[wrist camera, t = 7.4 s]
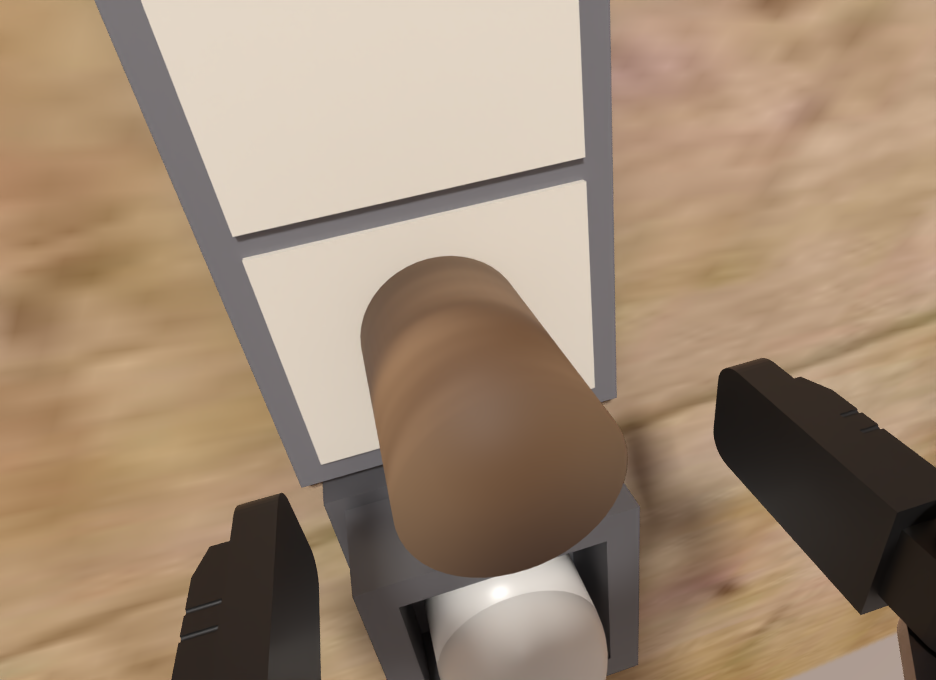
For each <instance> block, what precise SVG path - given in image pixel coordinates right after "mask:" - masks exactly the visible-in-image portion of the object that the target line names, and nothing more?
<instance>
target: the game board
mask: <svg viewBox="0 0 936 680" xmlns="http://www.w3.org/2000/svg"><path fill="white" fill-rule="evenodd" d="M95 3H96V5H97V7H98V10H99V12H100V14H101V17H102V19H103V21H104V24H105V26H106V28H107V31H108V33H109V36H110V38H111V40H112V43H113V45H114V47H115V50H116V52H117V54H118V57H119V59H120V61H121V64H122V66H123V68H124V71H125V73H126V76H127V78H128V80H129V83H130V85H131V87H132V90H133V92H134V94H135V97H136V99H137V101H138V104H139V106H140V108H141V111H142V113H143V116H144V118H145V120H146V123H147V125H148V127H149V130H150V132H151V134H152V137H153V139H154V141H155V144H156V146H157V148H158V151H159V153H160V156H161V158H162V160H163V163H164V165H165V167H166V170H167V172H168V174H169V177H170V179H171V181H172V184H173V186H174V189H175V191H176V193H177V196H178V198H179V200H180V203H181V205H182V207H183V210H184V212H185V214H186V217H187V219H188V221H189V224H190V226H191V229H192V231H193V233H194V236H195V238H196V240H197V243H198V245H199V247H200V250H201V252H202V254H203V257H204V259H205V261H206V264H207V266H208V269H209V271H210V273H211V276H212V278H213V280H214V283H215V285H216V287H217V290H218V292H219V294H220V297H221V299H222V301H223V304H224V306H225V309H226V311H227V313H228V316H229V318H230V320H231V323H232V325H233V327H234V330H235V332H236V334H237V337H238V339H239V341H240V344H241V346H242V349H243V351H244V353H245V356H246V358H247V360H248V363H249V365H250V367H251V370H252V372H253V374H254V377H255V379H256V381H257V384H258V386H259V389H260V391H261V393H262V396H263V398H264V400H265V403H266V405H267V407H268V410H269V412H270V414H271V417H272V419H273V421H274V424H275V426H276V429H277V431H278V433H279V436H280V438H281V440H282V443H283V445H284V447H285V450H286V452H287V454H288V457H289V459H290V461H291V464H292V466H293V469H294V471H295V473H296V476H297V478H298V480H299V483H300V485H301V487H306V486H309V485H313V484H316V483H320V482H323V481H327V480H330V479H334V478H337V477H341V476H344V475H348V474H351V473H355V472H358V471H362V470H365V469H369V468H372V467H376V466H379V465H383V462H382V457H381V452H380V446H379V441H378V435H377V430H376V425H375V419H374V414H373V409H372V403H371V398H370V393H369V387H368V382H367V376H366V371H365V366H364V360H363V355H362V350H361V341H360V333H361V325H362V321H363V317H364V314H365V311H366V309H367V307H368V305H369V303H370V301H371V299H372V298H373V296H374V295H375V294H376V292H377V291H378V290H379V288H380V287H381V286H382V285H383V284H384V283H385V282H386V281H387V280H388V279H390V278H391V277H392V276H393V275H395V274H396V273H397V272H399V271H401V270H402V269H404V268H406V267H407V266H410V265H412V264H414V263H416V262H419V261H422V260H425V259H429V258H434V257H440V256H461V257H467V258H472V259H475V260H478V261H481V262H484V263H485V264H487V265H489V266H491V267H493V268H494V269H496V270H497V271H498V272H500V273H501V274H502V275H503V276H504V277H505V278H506V279H507V280H508V281H509V283H510V284H511V285H512V286H513V288H514V289H515V290H516V292H517V293H518V294H519V296H520V297H521V298H522V300H523V301H524V302H525V303H526V305H527V306H528V307H529V309H530V310H531V311H532V313H533V314H534V315H535V317H536V318H537V319H538V321H539V322H540V323H541V324H542V326H543V327H544V328H545V330H546V331H547V332H548V334H549V335H550V336H551V338H552V339H553V340H554V341H555V343H556V344H557V345H558V347H559V348H560V349H561V351H562V352H563V353H564V355H565V356H566V357H567V359H568V360H569V361H570V362H571V364H572V365H573V366H574V368H575V369H576V370H577V372H578V373H579V374H580V376H581V377H582V378H583V379H584V381H585V382H586V383H587V385H588V386H589V387H590V389H591V390H592V391H593V393H594V394H595V395H596V397H597V398H598V399H599V400H600V402H603V401H606V400H610V399H613V398H617V390H616V332H615V274H614V216H613V158H612V99H611V41H610V0H95Z"/></svg>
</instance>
